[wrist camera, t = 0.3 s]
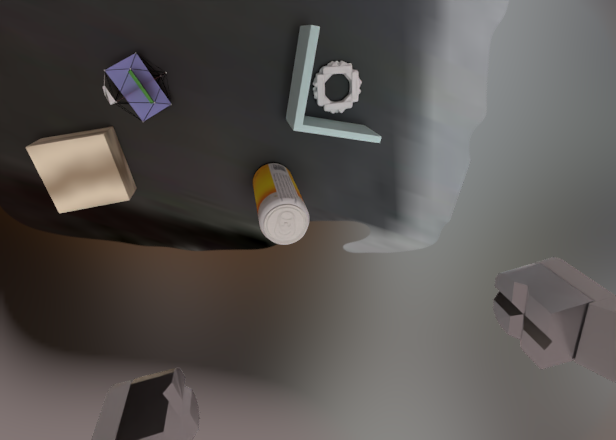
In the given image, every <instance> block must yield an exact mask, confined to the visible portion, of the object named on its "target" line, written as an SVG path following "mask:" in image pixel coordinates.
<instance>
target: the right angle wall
mask: <svg viewBox="0 0 616 440" xmlns="http://www.w3.org/2000/svg"><path fill="white" fill-rule="evenodd" d="M319 30H320V27H318V26H314V25H305V26H300V31H299V37H298V43H297V50H296V56H295V62H294V69H293V75H292V82H291V88H290V94H289V101H288V107H287V113H286V120H287V122H288V123H289V125H290V126H291V128H292V129H293V130H294V131H300V132H307V133H314V134H321V135H328V136H335V137H341V138H348V139H355V140H362V141H369V142H376V143H380V141H381V136H380V135H378V134H377V133H375V132H374V131H372V130H371V129H369V128H368V127H366V126H365V125H360V124H354V123H348V122H342V121H335V120H329V119H323V118H316V117H310V116H304V114H305V109H306V103H307V98H308V92H309V86H310V81H311V75H312V70H313V64H314V58H315V53H316V47H317V41H318V36H319ZM333 74H344V76H345V77H346V78H347V79H348V80H349V83H350V90H349V94H348V95H347V96H346V97H345V98H344V99H343V100H341V101H336V102H334V101H330V100H329V99H328V98H327V97H326V95H325V82H326V81H327V80H328V79H329V78H330V77H331V76H332V75H333ZM361 84H362V81H361V80H360V79H359V77H358V71H357V70H354V69H352V64H351V63H348V64H347V63H346V62H344V61H340V62H338V61H336V62H333V61H331V62H330V63H328V64H327V66H323V67H322V68H321V69H320V70H319V73H317V74H316V77H315V78H314V82H313V85H314V86H315V87H314V88H313V91H314V92H313V94H314V98H315V99H317V104H318V105H319V106H322V107H323V108H324V111H328V112H329V111H330V112H331V113H332V114H334V113H335V112H336V113H337V112H340V113H343V111H344V110H345V109H347V108H352V106H353V105H352V104H353V102H357V101H358V95H359V94H360V93H361V90H360V89H359V88H360V85H361Z"/></svg>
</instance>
